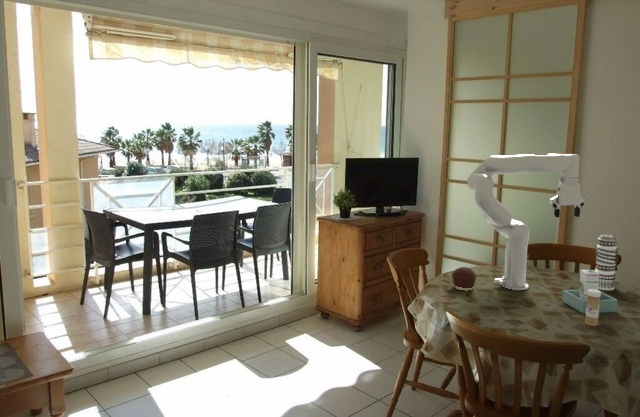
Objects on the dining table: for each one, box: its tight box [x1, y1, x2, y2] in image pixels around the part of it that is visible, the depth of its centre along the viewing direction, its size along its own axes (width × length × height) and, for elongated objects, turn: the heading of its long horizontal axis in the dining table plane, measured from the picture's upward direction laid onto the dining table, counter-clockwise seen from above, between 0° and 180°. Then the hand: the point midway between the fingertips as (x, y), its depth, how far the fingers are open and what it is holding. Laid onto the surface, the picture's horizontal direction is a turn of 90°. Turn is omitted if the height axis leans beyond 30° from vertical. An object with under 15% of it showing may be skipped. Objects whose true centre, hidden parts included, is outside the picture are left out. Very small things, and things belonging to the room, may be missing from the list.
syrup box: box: [578, 269, 599, 301], centre depth 210 cm, size 6×6×14 cm
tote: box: [562, 289, 618, 314], centre depth 211 cm, size 15×15×5 cm
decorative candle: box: [594, 234, 619, 291], centre depth 235 cm, size 9×9×25 cm
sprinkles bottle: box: [584, 289, 602, 327], centre depth 191 cm, size 5×5×14 cm
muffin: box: [451, 266, 477, 288], centre depth 237 cm, size 12×11×10 cm
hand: (566, 216), depth 236 cm, fingers open, 9 cm apart
